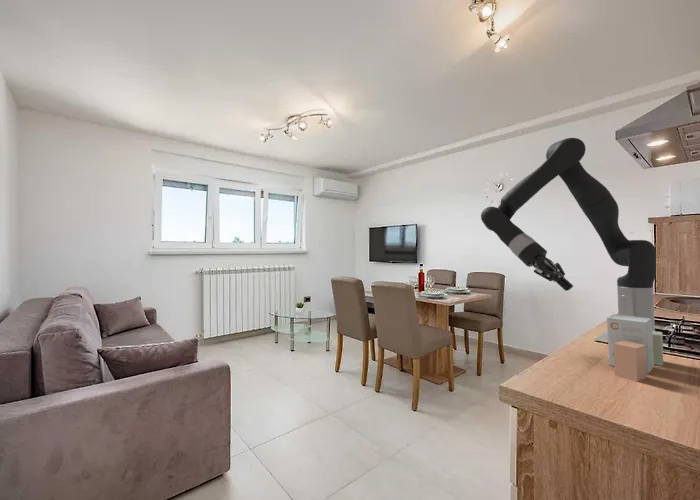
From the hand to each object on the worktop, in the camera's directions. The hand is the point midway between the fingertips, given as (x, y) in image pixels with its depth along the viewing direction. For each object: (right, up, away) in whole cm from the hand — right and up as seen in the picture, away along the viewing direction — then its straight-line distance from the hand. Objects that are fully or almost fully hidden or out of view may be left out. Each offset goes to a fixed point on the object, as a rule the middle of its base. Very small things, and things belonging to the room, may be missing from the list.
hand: (570, 288), depth 95 cm
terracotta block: (+3, -20, -18) cm, 27 cm away
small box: (+8, -19, -12) cm, 24 cm away
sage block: (+16, -19, -9) cm, 26 cm away
